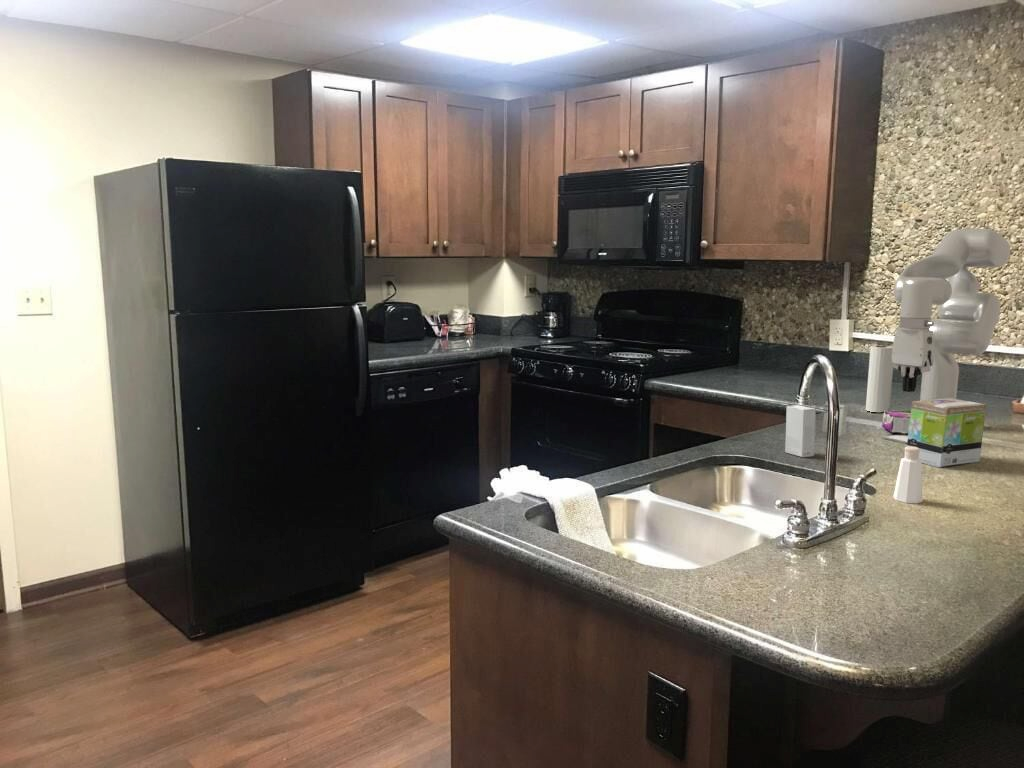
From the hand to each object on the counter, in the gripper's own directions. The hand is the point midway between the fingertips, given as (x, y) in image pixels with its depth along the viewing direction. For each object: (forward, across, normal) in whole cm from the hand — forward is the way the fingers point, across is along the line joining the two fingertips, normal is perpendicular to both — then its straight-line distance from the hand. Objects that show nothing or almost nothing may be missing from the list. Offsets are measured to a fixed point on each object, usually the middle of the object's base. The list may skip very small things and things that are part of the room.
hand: (908, 391), depth 224 cm
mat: (+13, -6, 0) cm, 14 cm away
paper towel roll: (+13, +29, -27) cm, 42 cm away
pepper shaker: (+13, -38, +53) cm, 67 cm away
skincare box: (+13, 0, +42) cm, 44 cm away
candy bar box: (+10, +7, -2) cm, 12 cm away
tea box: (+13, -21, +15) cm, 29 cm away
